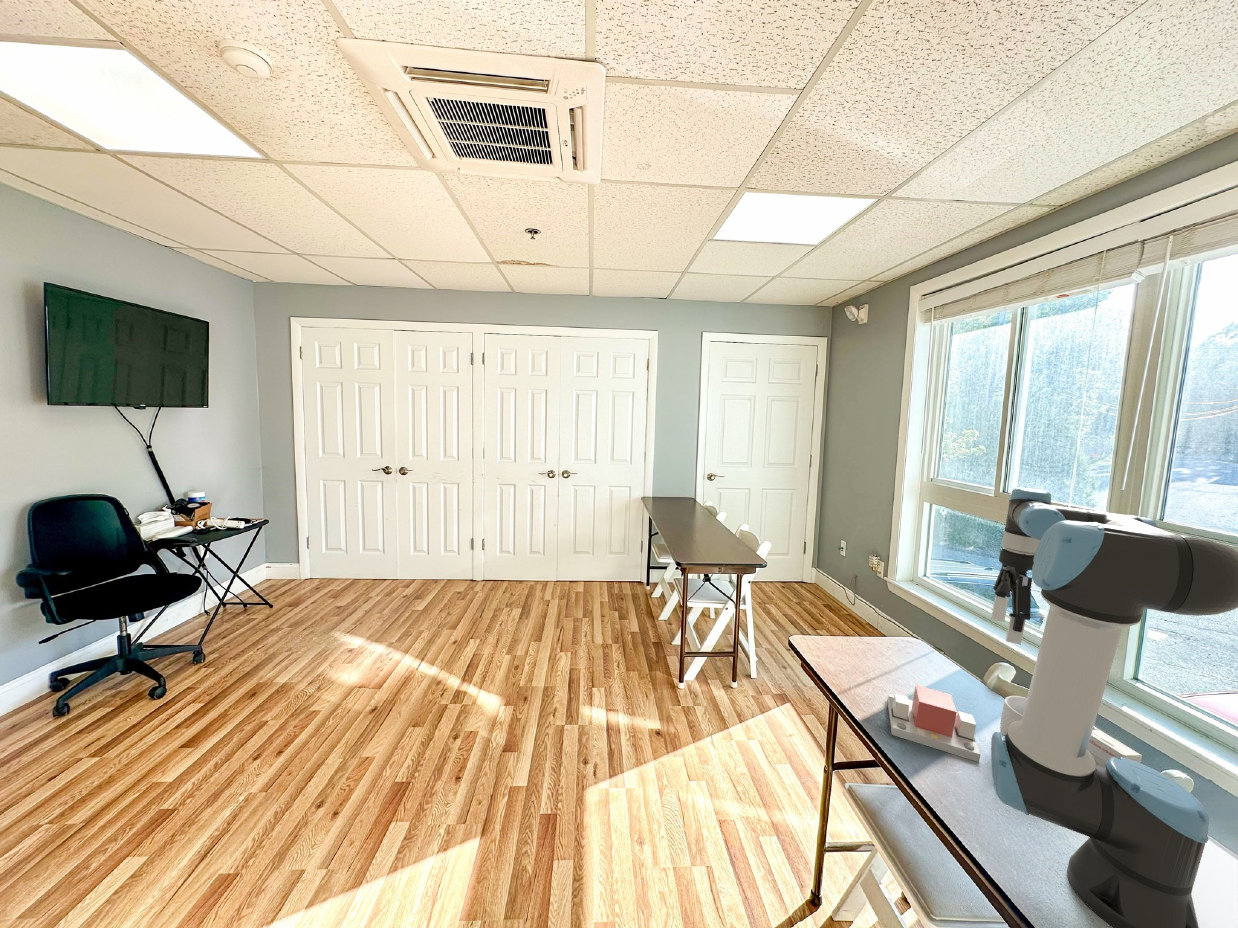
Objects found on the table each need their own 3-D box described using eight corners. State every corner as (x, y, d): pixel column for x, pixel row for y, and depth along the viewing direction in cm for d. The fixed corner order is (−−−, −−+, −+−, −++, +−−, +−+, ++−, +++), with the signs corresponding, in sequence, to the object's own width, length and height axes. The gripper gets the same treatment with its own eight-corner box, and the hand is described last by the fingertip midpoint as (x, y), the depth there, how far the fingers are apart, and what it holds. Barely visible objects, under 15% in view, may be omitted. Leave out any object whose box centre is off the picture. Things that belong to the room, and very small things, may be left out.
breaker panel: (979, 761, 112) (980, 753, 112) (891, 734, 120) (893, 726, 120) (964, 722, 127) (966, 714, 126) (887, 699, 134) (888, 692, 134)
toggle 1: (907, 719, 123) (909, 705, 122) (893, 715, 124) (896, 701, 123) (905, 710, 126) (907, 696, 126) (892, 707, 127) (894, 693, 127)
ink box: (1133, 805, 102) (1145, 755, 101) (1114, 807, 102) (1126, 757, 100) (1088, 773, 111) (1098, 727, 109) (1070, 775, 110) (1081, 728, 108)
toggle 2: (973, 739, 117) (976, 724, 116) (958, 734, 118) (961, 720, 117) (969, 729, 120) (972, 715, 120) (955, 725, 122) (958, 711, 121)
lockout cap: (951, 737, 117) (956, 711, 116) (915, 726, 120) (919, 701, 119) (946, 718, 124) (950, 694, 123) (911, 708, 127) (915, 684, 126)
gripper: (1059, 568, 106) (1041, 657, 109) (1023, 541, 128) (1008, 615, 131) (1017, 561, 109) (1000, 648, 112) (988, 535, 131) (975, 608, 134)
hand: (1004, 630), depth 122 cm, fingers open, 13 cm apart
